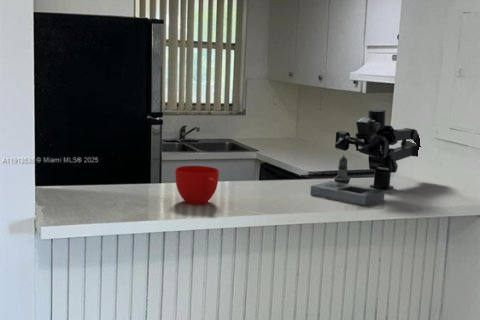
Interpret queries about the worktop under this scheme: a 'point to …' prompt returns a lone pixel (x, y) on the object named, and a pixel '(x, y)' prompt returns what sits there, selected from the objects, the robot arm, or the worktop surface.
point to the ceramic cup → (196, 183)
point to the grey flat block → (347, 193)
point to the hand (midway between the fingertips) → (347, 148)
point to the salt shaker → (342, 171)
